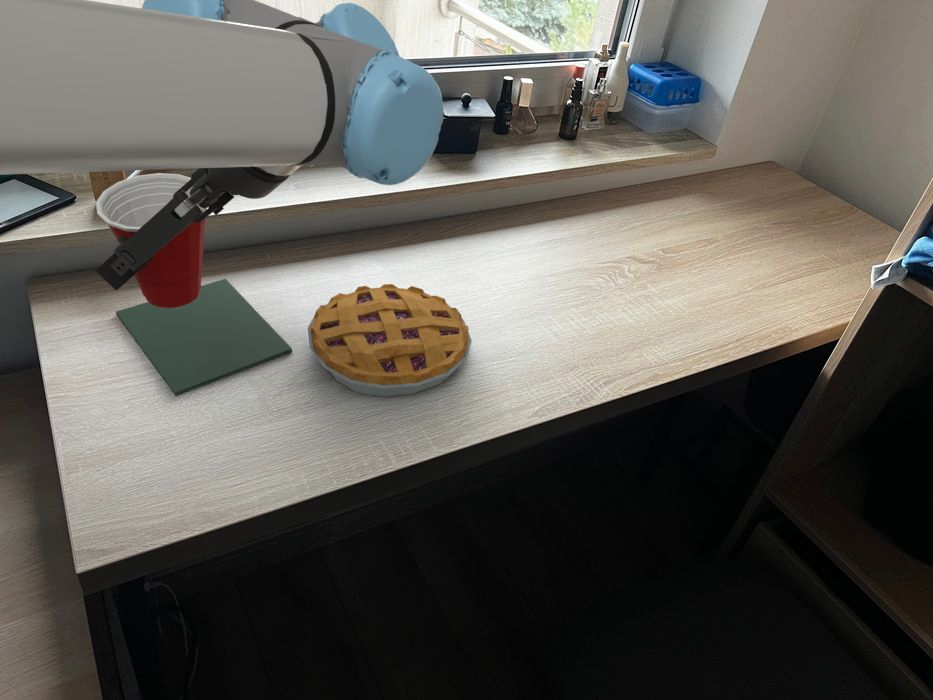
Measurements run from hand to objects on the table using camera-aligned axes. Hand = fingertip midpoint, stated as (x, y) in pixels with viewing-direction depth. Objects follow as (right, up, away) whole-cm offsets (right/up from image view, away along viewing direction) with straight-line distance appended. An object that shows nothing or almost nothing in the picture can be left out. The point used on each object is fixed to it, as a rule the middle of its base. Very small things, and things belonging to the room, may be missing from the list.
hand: (139, 254), depth 78 cm
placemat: (-1, -8, +21) cm, 22 cm away
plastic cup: (+3, -4, +2) cm, 5 cm away
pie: (+25, -11, +22) cm, 35 cm away
